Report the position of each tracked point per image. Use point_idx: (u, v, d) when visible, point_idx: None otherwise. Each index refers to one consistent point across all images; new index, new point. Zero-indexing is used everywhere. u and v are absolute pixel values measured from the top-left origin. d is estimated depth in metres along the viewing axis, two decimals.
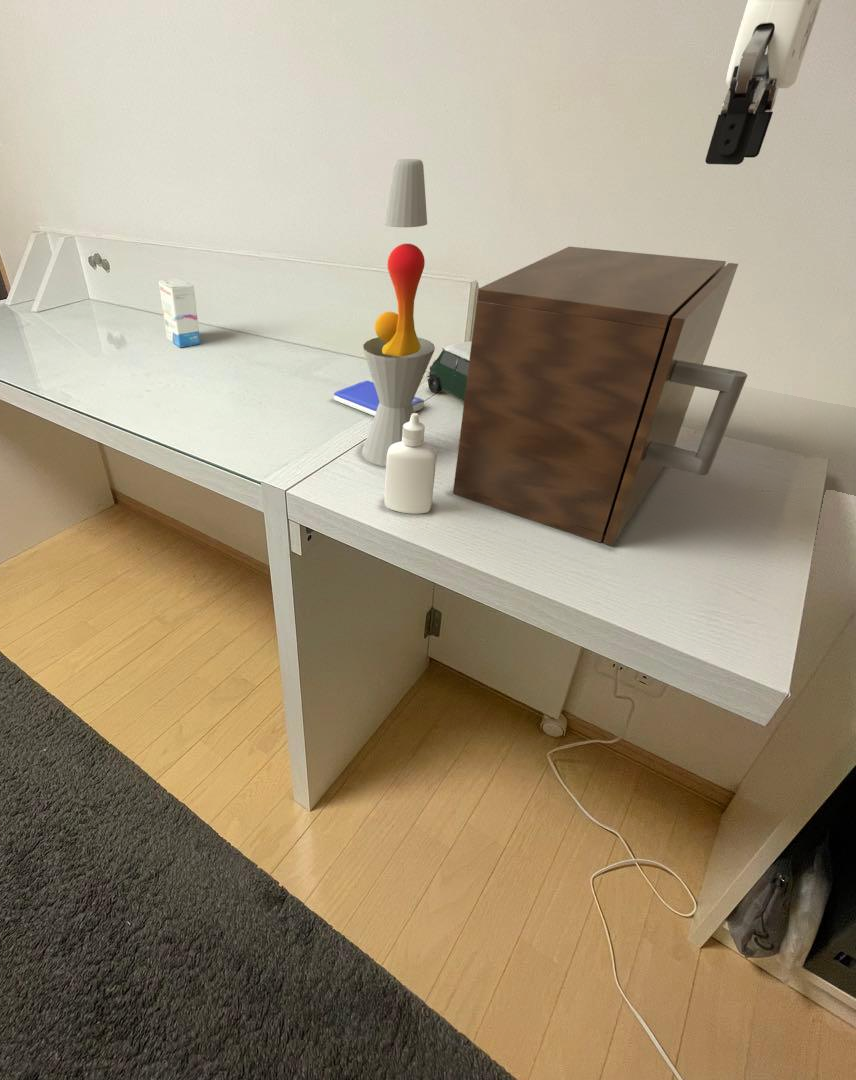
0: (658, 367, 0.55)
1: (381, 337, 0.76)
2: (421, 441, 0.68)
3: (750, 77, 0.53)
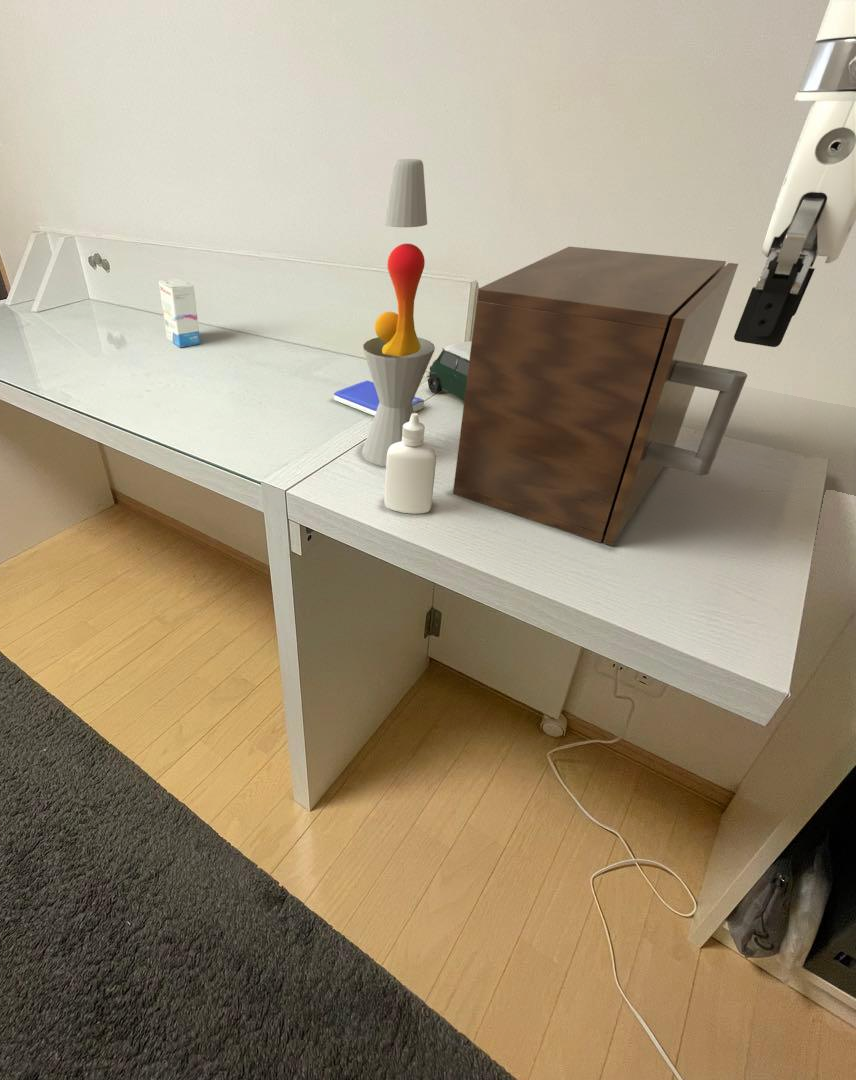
0: (658, 367, 0.55)
1: (381, 337, 0.76)
2: (421, 441, 0.68)
3: (795, 260, 0.42)
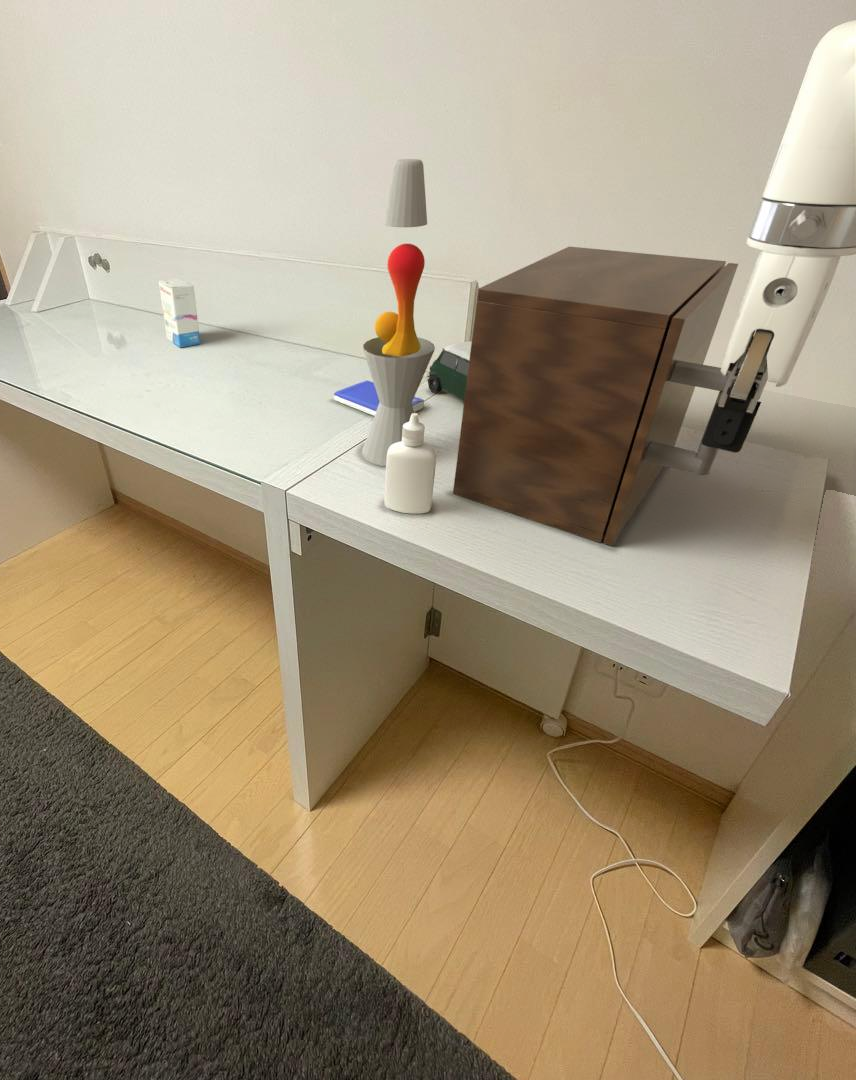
0: (658, 367, 0.55)
1: (381, 337, 0.76)
2: (421, 441, 0.68)
3: (744, 400, 0.51)
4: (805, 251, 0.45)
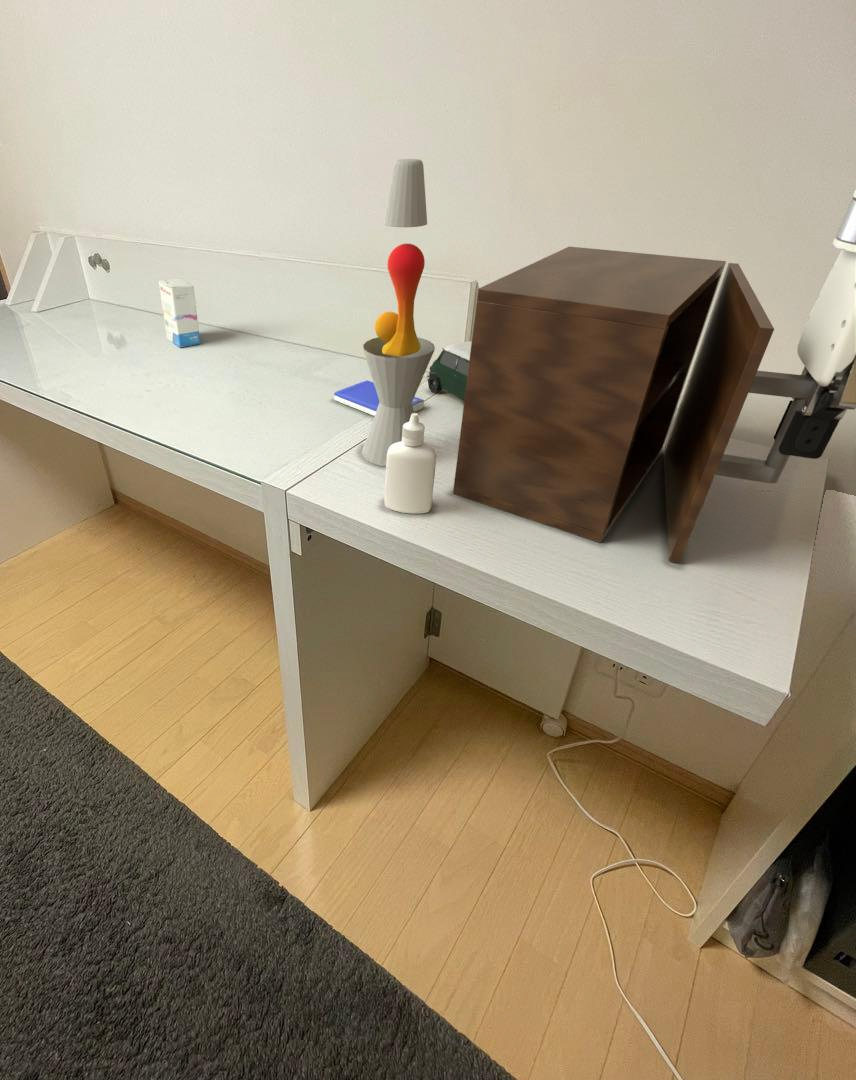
0: (741, 379, 0.52)
1: (381, 337, 0.76)
2: (421, 441, 0.68)
3: None
4: None
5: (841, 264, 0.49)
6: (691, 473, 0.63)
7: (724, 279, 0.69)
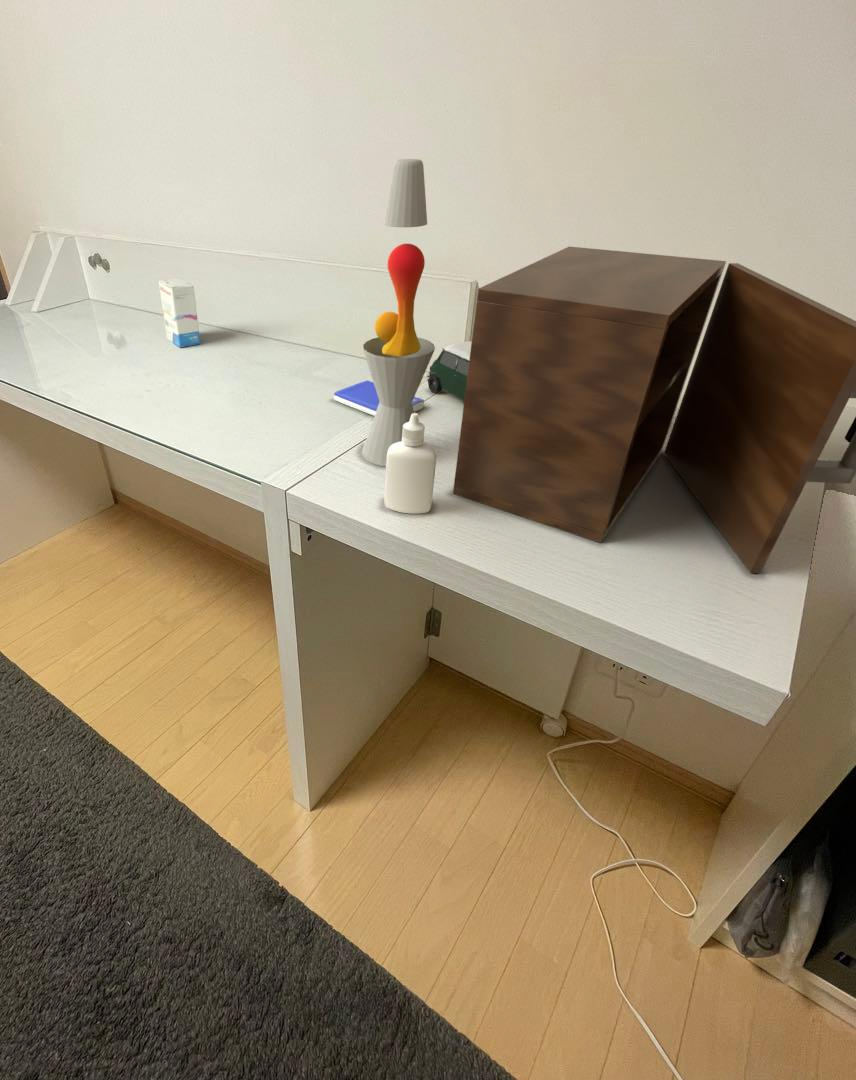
0: (843, 387, 0.51)
1: (381, 337, 0.76)
2: (421, 441, 0.68)
3: None
4: None
5: None
6: (759, 480, 0.61)
7: (728, 279, 0.69)
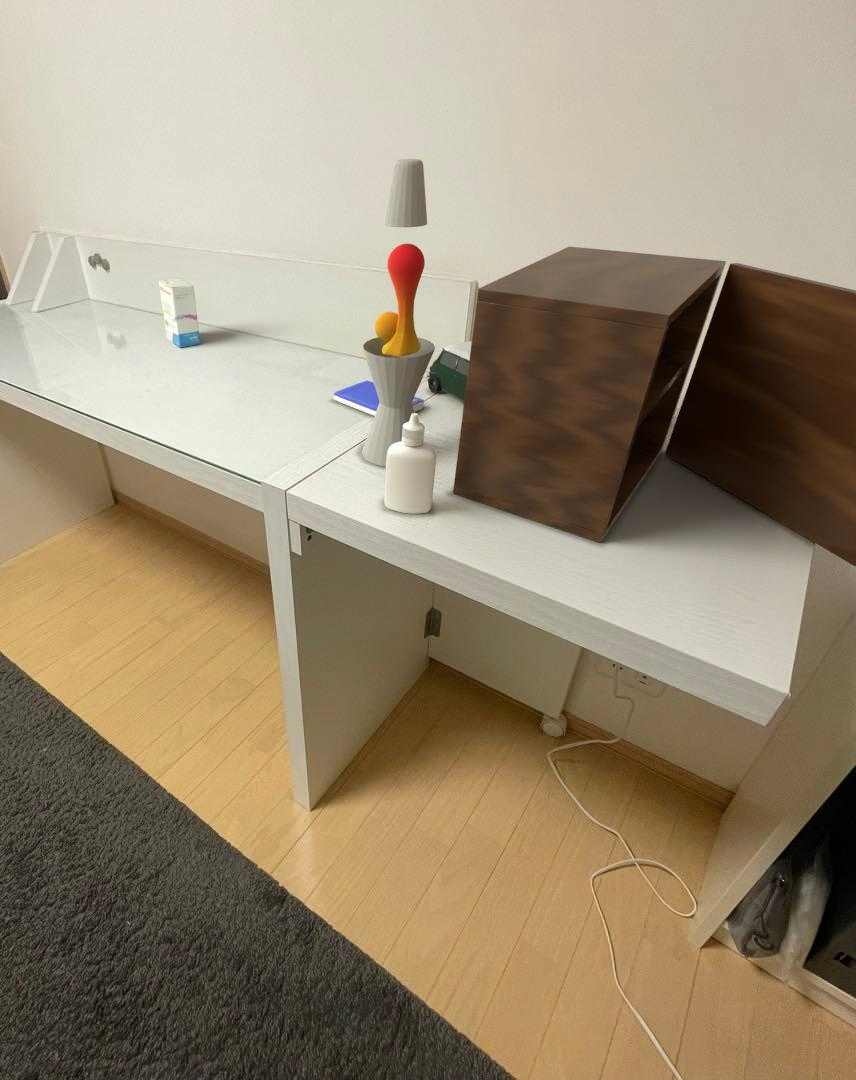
0: None
1: (381, 337, 0.76)
2: (421, 441, 0.68)
3: None
4: None
5: None
6: (846, 476, 0.62)
7: (733, 280, 0.69)
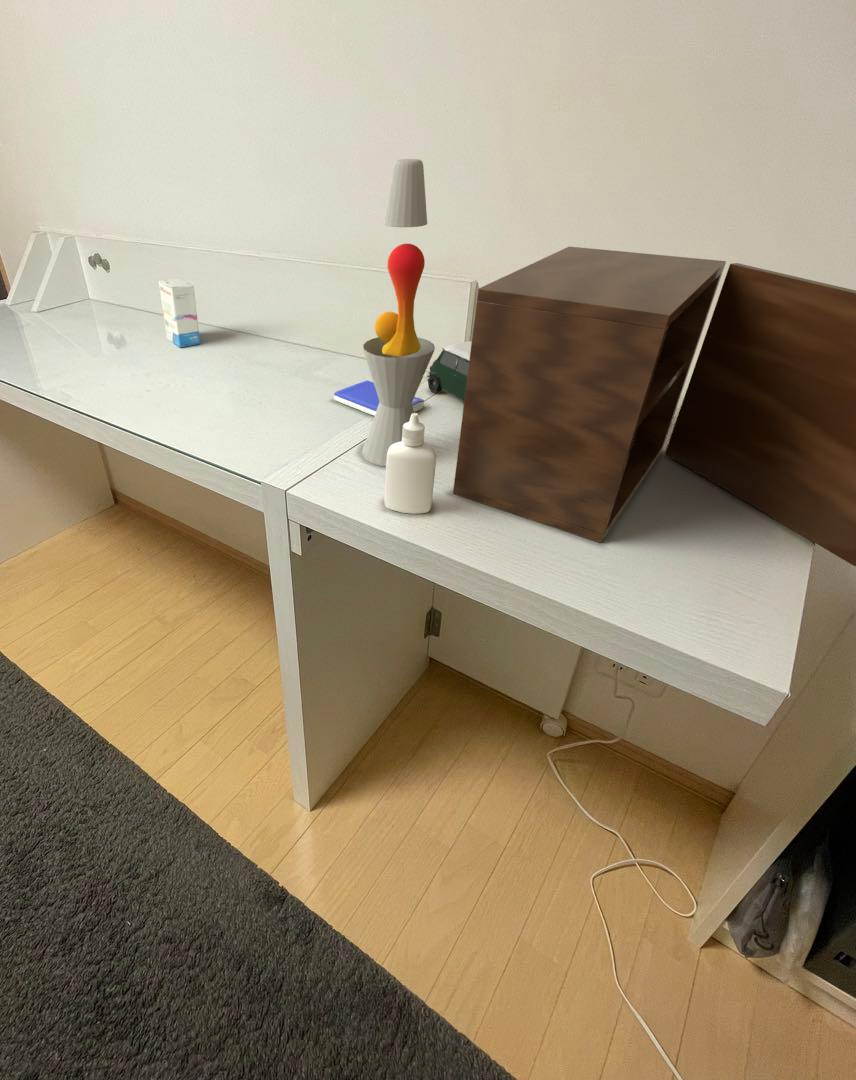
0: None
1: (381, 337, 0.76)
2: (421, 441, 0.68)
3: None
4: None
5: None
6: (846, 476, 0.62)
7: (733, 280, 0.69)
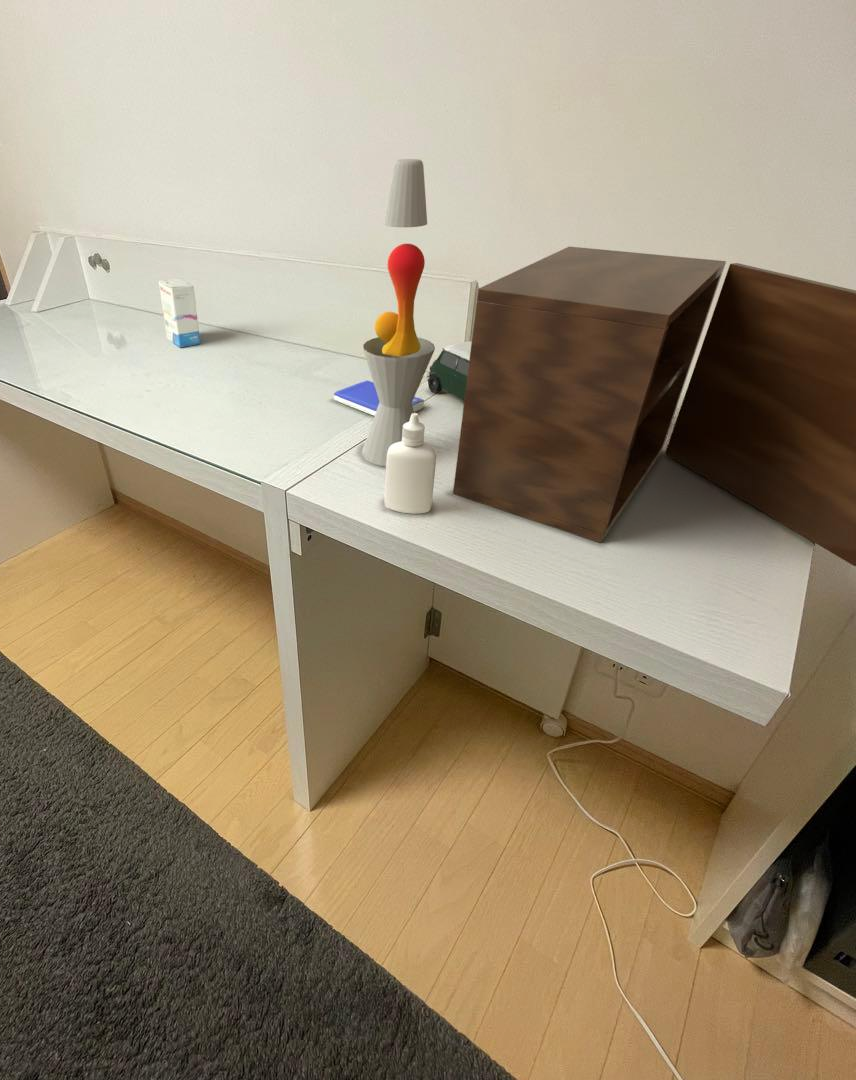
0: None
1: (381, 337, 0.76)
2: (421, 441, 0.68)
3: None
4: None
5: None
6: (846, 476, 0.62)
7: (733, 280, 0.69)
